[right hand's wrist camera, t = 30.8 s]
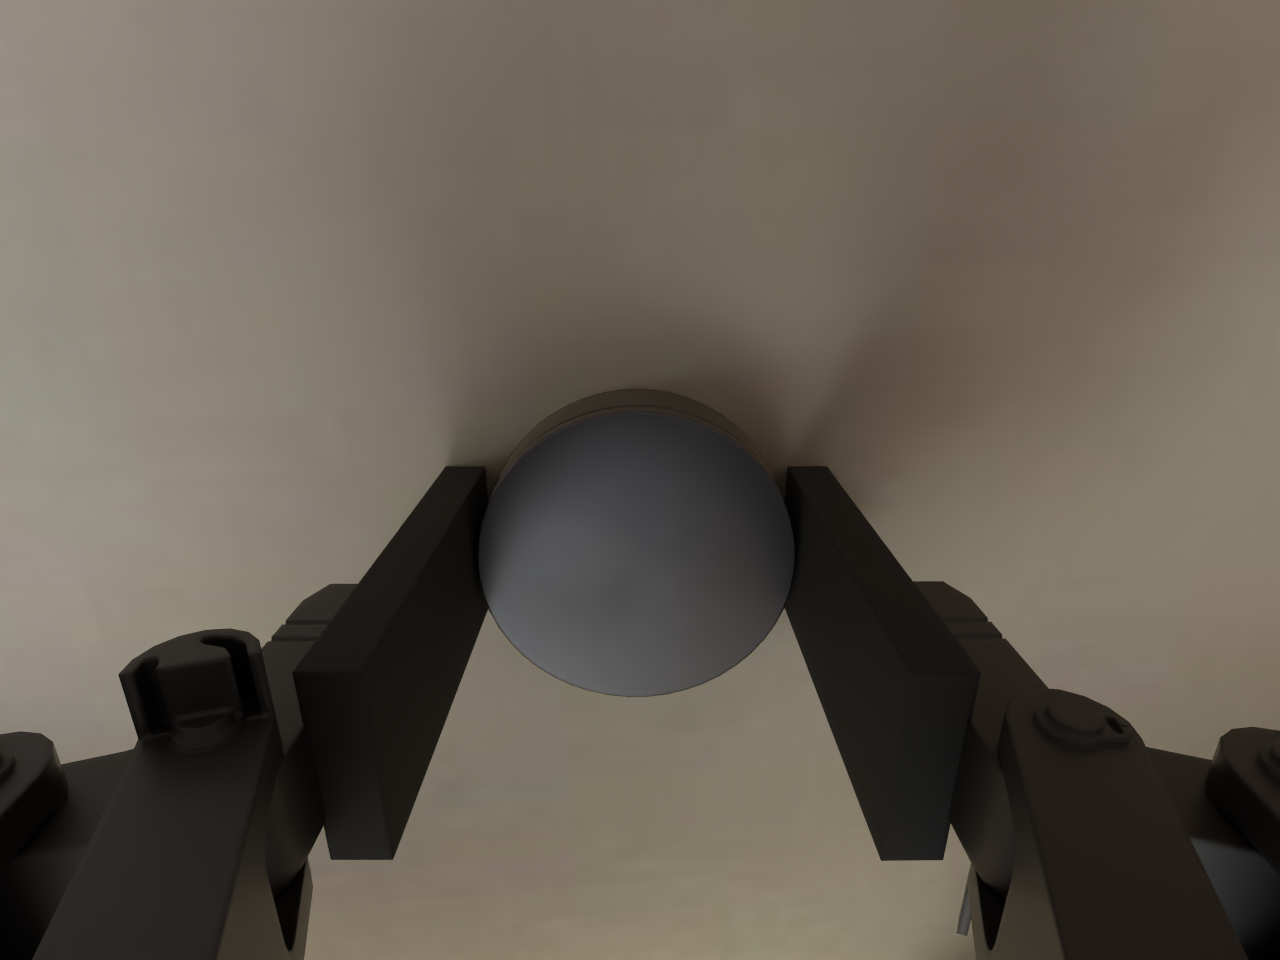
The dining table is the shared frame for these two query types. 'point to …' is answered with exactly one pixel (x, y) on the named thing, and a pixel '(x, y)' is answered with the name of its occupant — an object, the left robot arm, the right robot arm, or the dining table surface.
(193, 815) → the right robot arm
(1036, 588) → the dining table surface
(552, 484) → the lid
